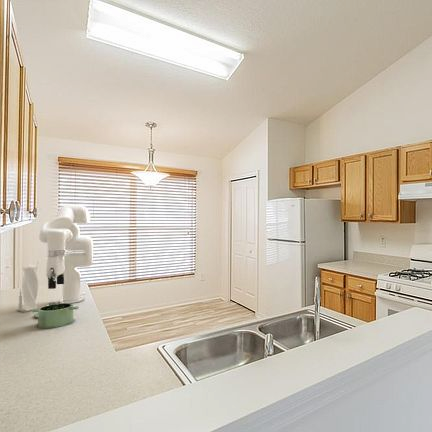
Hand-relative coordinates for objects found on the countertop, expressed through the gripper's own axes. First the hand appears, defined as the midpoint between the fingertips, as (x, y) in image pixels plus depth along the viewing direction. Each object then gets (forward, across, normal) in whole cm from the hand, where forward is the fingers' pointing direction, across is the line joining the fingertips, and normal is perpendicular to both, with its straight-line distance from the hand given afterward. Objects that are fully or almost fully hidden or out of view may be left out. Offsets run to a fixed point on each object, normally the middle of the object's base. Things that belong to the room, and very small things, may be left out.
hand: (56, 286), depth 166 cm
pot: (+19, +1, 0) cm, 19 cm away
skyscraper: (+20, -30, -25) cm, 44 cm away
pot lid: (+19, -16, -8) cm, 26 cm away
